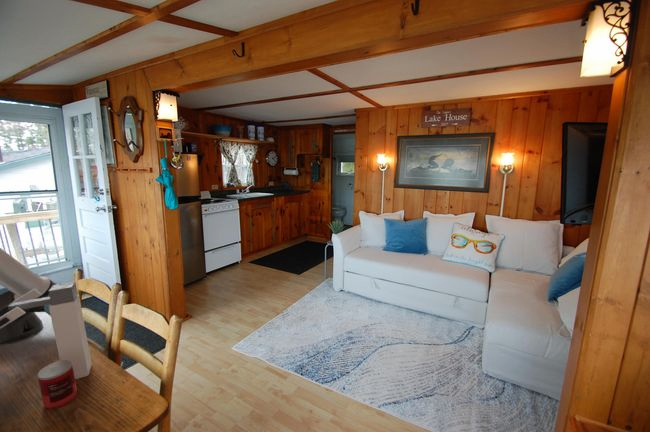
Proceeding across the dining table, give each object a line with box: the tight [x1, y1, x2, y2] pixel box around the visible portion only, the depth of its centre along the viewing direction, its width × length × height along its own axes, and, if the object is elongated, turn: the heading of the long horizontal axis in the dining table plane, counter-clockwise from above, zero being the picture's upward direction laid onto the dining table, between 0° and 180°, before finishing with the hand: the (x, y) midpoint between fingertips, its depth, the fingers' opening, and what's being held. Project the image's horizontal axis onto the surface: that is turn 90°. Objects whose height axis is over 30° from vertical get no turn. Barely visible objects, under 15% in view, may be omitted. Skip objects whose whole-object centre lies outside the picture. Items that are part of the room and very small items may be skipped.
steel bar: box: [8, 281, 79, 311], centre depth 90 cm, size 5×16×5 cm, turn 121°
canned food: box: [37, 360, 78, 410], centre depth 87 cm, size 8×8×11 cm
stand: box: [49, 293, 93, 380], centre depth 96 cm, size 6×6×28 cm
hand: (30, 300), depth 89 cm, fingers open, 13 cm apart
